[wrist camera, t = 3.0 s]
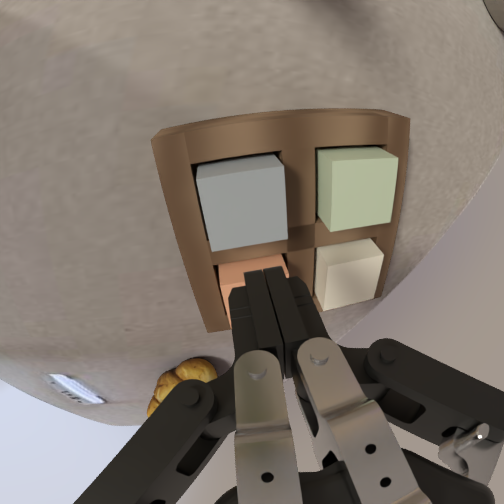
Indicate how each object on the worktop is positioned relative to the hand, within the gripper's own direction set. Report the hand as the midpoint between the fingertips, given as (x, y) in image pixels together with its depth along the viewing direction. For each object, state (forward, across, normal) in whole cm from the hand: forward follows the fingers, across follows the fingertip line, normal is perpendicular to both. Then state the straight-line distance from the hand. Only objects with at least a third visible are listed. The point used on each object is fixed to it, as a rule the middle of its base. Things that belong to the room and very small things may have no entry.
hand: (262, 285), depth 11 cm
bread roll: (+13, +11, +28) cm, 32 cm away
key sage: (+10, -8, 0) cm, 13 cm away
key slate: (+10, 0, 0) cm, 10 cm away
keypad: (+13, -4, +4) cm, 14 cm away
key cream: (+10, -8, +8) cm, 15 cm away
